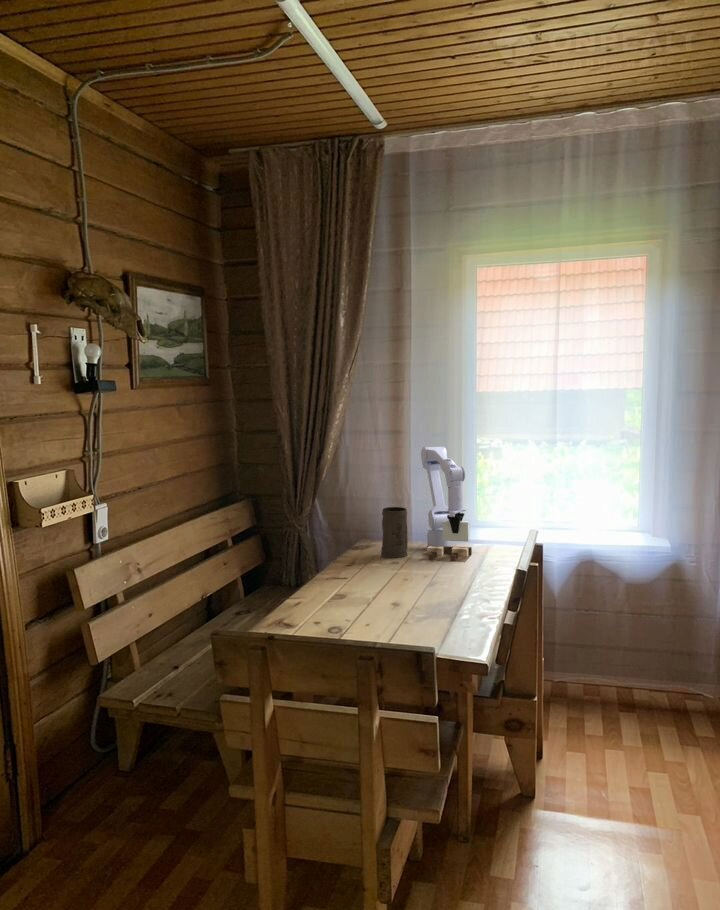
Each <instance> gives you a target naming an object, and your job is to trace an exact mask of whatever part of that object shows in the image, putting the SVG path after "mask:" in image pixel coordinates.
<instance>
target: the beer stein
mask: <svg viewBox="0 0 720 910" xmlns="http://www.w3.org/2000/svg"><path fill="white" fill-rule="evenodd" d="M381 514H382V519H381V527H382V543H381V548H380V549H381V553H380V557H381V558H383V559H389V560H390V559H391V560H392V559H393V560H394V559H395V560H396V559H403V558H408V541H409V539H408V524H407V523H408V522H407V519H408V518H407V517H408V510H407V508H405V507H400V506H391V507H389V506H388V507H384V508H382V513H381Z"/></svg>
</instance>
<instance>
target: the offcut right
mask: <svg viewBox="0 0 720 910" xmlns="http://www.w3.org/2000/svg"><path fill="white" fill-rule="evenodd" d="M460 547H461V546H453V548H452V555H453V553H458V557H467V556H468V555H469V553H468V548H460Z"/></svg>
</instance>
